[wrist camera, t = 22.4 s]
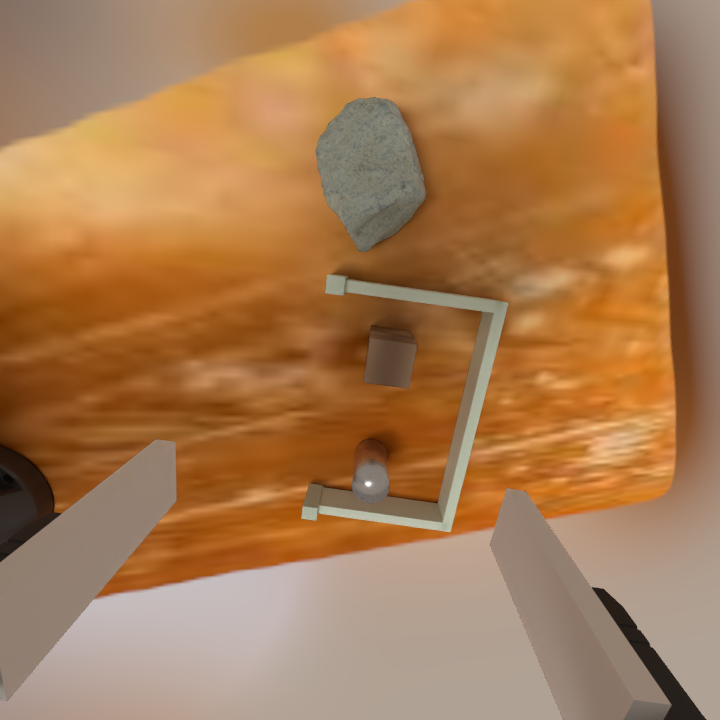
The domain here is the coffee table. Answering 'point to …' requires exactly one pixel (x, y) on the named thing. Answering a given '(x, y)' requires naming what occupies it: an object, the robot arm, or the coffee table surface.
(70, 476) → the coffee table surface
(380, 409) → the coffee table surface
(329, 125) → the decorative stone
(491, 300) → the bay
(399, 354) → the walnut block
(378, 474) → the metal cylinder
